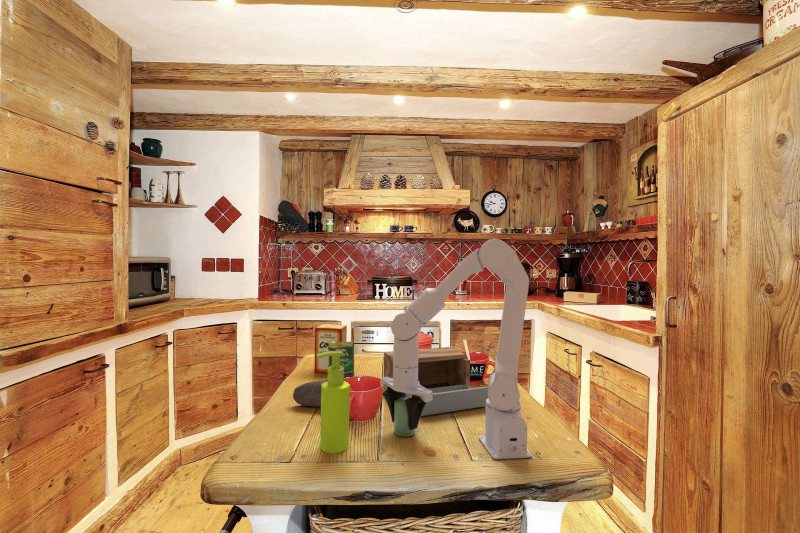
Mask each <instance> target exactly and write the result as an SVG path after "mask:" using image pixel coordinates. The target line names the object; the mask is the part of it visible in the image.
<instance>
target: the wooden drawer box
mask: <svg viewBox="0 0 800 533" xmlns="http://www.w3.org/2000/svg"><path fill="white" fill-rule="evenodd" d="M384 377H389V378H393V350H392V351H383V378H384ZM470 380H471V377H470V360H468V359H466V353H464V352H462V351H459V350H457V349H454V348H452V347H450V346H447V347H444V346H443V347H432V348H419V350H418V381H419V382H420V384H419V385H421V386H429V385H435V384H436V385H437V384H445V382H446V383H447V384H448V383H449V384H448V385H449V386H456V385H464V384H465V385H467V386H469V387H470ZM383 390H384V391H387V387H384V389H383Z"/></svg>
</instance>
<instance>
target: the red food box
mask: <svg viewBox="0 0 800 533" xmlns="http://www.w3.org/2000/svg"><path fill="white" fill-rule="evenodd" d="M347 329H348V328H347V325H346V324H345V325H342V324H333V323H330V324H329V323H328V324H325V323H324V324H320V325H317V326H316V327H314V365H313V366H314V369H313V371H314V372H313V373H315V374H328V367H329V356H327V357H322V358H319V357H318V356H317V355H316V354H319V353H322V352H326V351H329V343H330V342H348V341H347V338H348V336H347V335H348V334H347V333H348V330H347Z"/></svg>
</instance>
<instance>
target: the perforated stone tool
mask: <svg viewBox="0 0 800 533" xmlns="http://www.w3.org/2000/svg"><path fill="white" fill-rule="evenodd" d="M325 382H328V379H325V380H314V381H308V382H305V383H302V384H300V385H298V386H297V387H295V388H294V390H293V393H292V398H293V401H295V403H297V404H298V405H300V406H303V407H314V408H321V385H322V384H323V383H325Z"/></svg>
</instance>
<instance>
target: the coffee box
mask: <svg viewBox="0 0 800 533" xmlns="http://www.w3.org/2000/svg"><path fill="white" fill-rule="evenodd" d="M329 351H342V352H343V353H344V356H340V365H341V366H342V367H344V378H346V377H353V376H354V377H355V341H346V342H330V343H329ZM330 366H332V356H329V367H330Z"/></svg>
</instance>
